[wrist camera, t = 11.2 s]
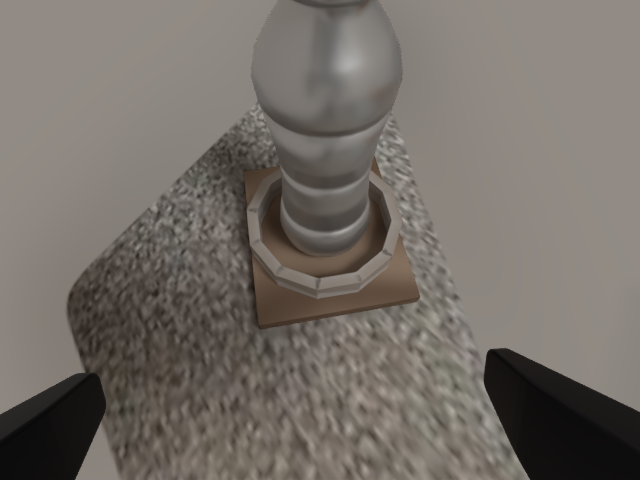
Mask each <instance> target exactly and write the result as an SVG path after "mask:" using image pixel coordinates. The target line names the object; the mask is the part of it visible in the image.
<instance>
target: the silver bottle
mask: <svg viewBox="0 0 640 480" xmlns="http://www.w3.org/2000/svg"><path fill="white" fill-rule="evenodd" d="M402 75H403V67H402V55H401V48H400V44H399V41H398V38H397V36H396V33H395V31H394V28H393V26H392V23H391V21H390V19H389V17H388V15H387V13H386V11H385V10H384V8H383V6H382V4H381V2H380V0H278V1H277V3H276V4H275V6H274V8H273V9H272V11H271V12H270V14H269V15H268V17H267V19H266V21H265V23H264V25H263V27H262V29H261V31H260V33H259V35H258V37H257V40H256V42H255V45H254V51H253V58H252V67H251V78H252V82H253V85H254V89H255V92H256V95H257V99H258V102H259V104H260V107H261V110H262V112H263V115H264V118H265V120H266V123H267V125H268V128H269V130H270V133H271V136H272V138H273V141H274V143H275V147H276V151H277V156H278V159H279V164H280V168H281V171H282V197H281V203H280V221H281V225H282V228H283V230H284V231H285V233H286V235H287V237H288V238H289V240H290V241H291V242H292V244H293V245H294V246H295V247H296V248H298V249H299V250H300V251H302V252H304V253H306V254H308V255H312V256H315V257H334V256H338V255H341V254H343V253H345V252H347V251H349V250H350V249H352V248H353V247H354V246H355V245H356V244H357V243H358V242H359V240H360V239H361V237H362V236H363V234H364V233H365V231H366V229H367V227H368V224H369V219H370V202H369V196H368V189H369V174H370V169H371V166H372V161H373V159H374V155H375V151H376V148H377V144H378V141H379V138H380V136H381V134H382V131H383V129H384V126H385V124H386V122H387V119H388V117H389V114H390V112H391V110H392V107H393V105H394V103H395V100H396V97H397V94H398V91H399V88H400V85H401V82H402Z"/></svg>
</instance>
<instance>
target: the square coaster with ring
mask: <svg viewBox="0 0 640 480" xmlns="http://www.w3.org/2000/svg"><path fill="white" fill-rule="evenodd" d="M244 180H245V190H246V201H247V210H246V211H247V219H248V230H249V240H250V247H251V253H252V263H253V273H254V284H255V294H256V304H257V315H258V325H259V327H260V328H261V329H266V328H271V327H277V326H283V325H288V324H294V323H300V322H305V321H311V320H317V319H322V318H328V317H334V316H339V315H345V314H351V313H356V312H362V311H368V310H373V309H379V308H385V307H390V306H396V305H402V304H407V303H413V302H417V301H418V299H419V298H420V294H419V291H418V288H417V285H416V282H415V279H414V276H413V273H412V270H411V266H410V263H409V260H408V257H407V254H406V251H405V248H404V245H403V242H402V239H401V236H400V233H399V232H400V229H401V226H402V223H403V221H402V218H401V215H400V212H399V209H398V206H397V203H396V200H395V197H394V194H393V191H392V188H391V187H390V186H389V185H387V184H386V183H385V182H384V181H383V180H382V177H381V174H380V171H379V168H378V165H377V162H376V159H375V156H374V159H373V161H372V166H371V169H370V174H369V189H368V196H369V202H370V219H369V224H368V227H367V229H366V231H365V233H364V234H363V236H362V237H361V239H360V240H359V242H358V243H357V244H356V245H355V246H354V247H353V248H352V249H350V250H349V251H347V252H345V253H343V254H341V255H338V256H334V257H315V256H312V255H308V254H306V253H304V252H302V251H300V250H299V249H298V248H296V247H295V246H294V245H293V244H292V242H291V241H290V240H289V238H288V237H287V235H286V233H285V231H284V230H283V228H282V225H281V221H280V203H281V197H282V171H281V168H280V166H278V167H271V168H264V169H256V170H249V171H244Z"/></svg>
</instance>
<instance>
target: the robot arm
mask: <svg viewBox="0 0 640 480" xmlns="http://www.w3.org/2000/svg"><path fill="white" fill-rule="evenodd" d="M484 385H485V389H486V391H487V393H488V395H489V398H490V400H491V402H492V404H493V406H494V409H495V411H496V413H497V415H498V417H499V419H500V422H501V424H502V426H503V428H504V430H505V433H506V435H507V437H508V439H509V441H510V443H511V445H512V447H513V450H514V452H515V454H516V455H517V457H518V459H519V461H520V463H521V465H522V466H523V468H524V470H525V472H526V473H527V475H528V477H529V478H530V480H640V412H638V411H637V410H635V409H633V408H630V407H628V406H626V405H624V404H622V403H620V402H618V401H616V400H614V399H612V398H610V397H608V396H605V395H603V394H601V393H599V392H597V391H595V390H593V389H591V388H589V387H587V386H585V385H583V384H580V383H578V382H576V381H574V380H572V379H570V378H568V377H566V376H564V375H562V374H559V373H558V372H555V371H553V370H551V369H549V368H547V367H545V366H543V365H541V364H539V363H537V362H535V361H533V360H530V359H528V358H526V357H524V356H522V355H520V354H518V353H516V352H514V351H512V350H510V349H507V348H499V349H490V350H489V351H488V352H487V355H486V363H485V371H484ZM105 410H106V399H105V396H104V392H103V389H102V385H101V381H100V378H99V376H98V375H97V374H96V373H78V374H75V375H73V376H71V377H69V378H67V379H65V380H63V381H62V382H60V383H58V384H56V385H54V386H52V387H50V388H48V389H47V390H45V391H43V392H41V393H39V394H37V395H36V396H34V397H32V398H30V399H28V400H26V401H25V402H23V403H21V404H19V405H17V406H15V407H13V408H12V409H10V410H8V411H6V412H4V413H2V414H0V480H75V479H76V476H77V474H78V472H79V470H80V468H81V466H82V463H83V461H84V459H85V456H86V454H87V452H88V450H89V447H90V445H91V443H92V441H93V438H94V436H95V434H96V431H97V429H98V427H99V425H100V423H101V420H102V418H103V416H104V413H105Z"/></svg>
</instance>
